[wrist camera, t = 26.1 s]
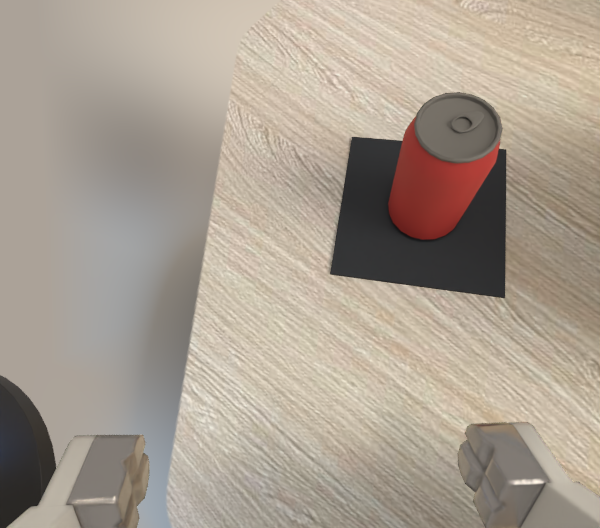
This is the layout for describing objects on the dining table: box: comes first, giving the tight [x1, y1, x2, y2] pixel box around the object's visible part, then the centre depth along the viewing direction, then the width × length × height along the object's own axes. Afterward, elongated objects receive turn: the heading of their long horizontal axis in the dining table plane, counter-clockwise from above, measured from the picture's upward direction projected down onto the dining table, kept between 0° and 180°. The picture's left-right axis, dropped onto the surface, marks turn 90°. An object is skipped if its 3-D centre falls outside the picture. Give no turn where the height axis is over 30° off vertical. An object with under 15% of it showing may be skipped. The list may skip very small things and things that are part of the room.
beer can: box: [388, 92, 502, 240], centre depth 32 cm, size 7×7×12 cm
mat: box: [330, 137, 506, 298], centre depth 37 cm, size 15×15×1 cm
